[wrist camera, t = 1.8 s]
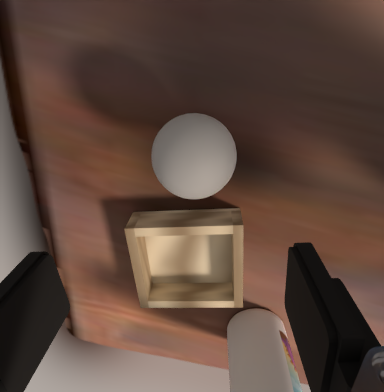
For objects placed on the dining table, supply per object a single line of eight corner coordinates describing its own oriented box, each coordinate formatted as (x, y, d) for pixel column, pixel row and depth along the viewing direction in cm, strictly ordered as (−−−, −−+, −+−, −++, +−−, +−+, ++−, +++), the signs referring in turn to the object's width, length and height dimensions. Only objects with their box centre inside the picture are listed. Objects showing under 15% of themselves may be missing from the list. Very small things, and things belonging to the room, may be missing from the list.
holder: (239, 208, 31) (243, 225, 27) (240, 285, 35) (242, 307, 32) (133, 211, 32) (124, 228, 28) (147, 286, 36) (140, 307, 33)
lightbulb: (196, 174, 29) (188, 230, 19) (155, 130, 27) (123, 167, 18) (242, 135, 27) (260, 176, 17) (201, 85, 25) (194, 99, 16)
